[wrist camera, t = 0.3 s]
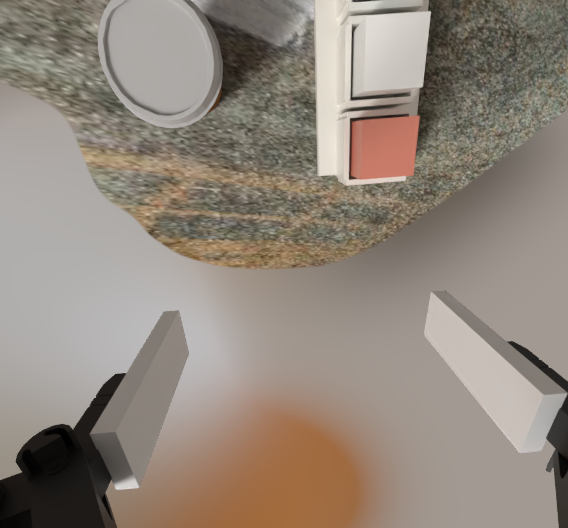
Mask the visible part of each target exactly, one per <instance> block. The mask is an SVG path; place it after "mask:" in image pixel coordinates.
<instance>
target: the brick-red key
mask: <svg viewBox="0 0 568 528" xmlns="http://www.w3.org/2000/svg"><path fill="white" fill-rule="evenodd" d="M419 118H420V116H409V117H396V118H383V119H370V120H360V121H355V122H352V125H351V171H350V175H351V176H353V177H356V178H358V179H360V180H363V179H375V178H387V177H400V176H412V175H413V174H414V164H415V155H416V146H417V137H418V127H419Z"/></svg>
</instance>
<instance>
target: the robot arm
mask: <svg viewBox="0 0 568 528" xmlns="http://www.w3.org/2000/svg"><path fill="white" fill-rule="evenodd" d="M424 335H425V337H426V338H427V339H428V340H429V341H430V343H431V344H432V345H433V346H434V348H435V349H436V350H437V351H438V353H439V354H440V355H441V356H442V357H443V359H444V360H445V361H446V362H447V364H448V365H449V366H450V367H451V369H452V370H453V371H454V372H455V373H456V375H457V376H458V377H459V379H460V380H461V381H462V382H463V384H464V385H465V386H466V387H467V389H468V390H469V391H470V392H471V394H472V395H473V396H474V397H475V398H476V399H477V401H478V402H479V403H480V405H481V406H482V407H483V408H484V410H485V411H486V412H487V413H488V415H489V416H490V417H491V418H492V420H493V421H494V422H495V423H496V424H497V426H498V427H499V428H500V429H501V431H502V432H503V433H504V434H505V435H506V437H507V438H508V439H509V441H510V442H511V443H512V444H513V446H514V447H515V448H516V449H517V450H518V452H519V453H524V452H535V451H541V450H542V448H543V445H544V443H545V441H546V439H547V440H548V441H549V442H550V443H551V444H552V445H553V446H554V447H555V448H556V449H555V451H554V453H553V455H552V457H551V459H550V461H549V463H548V465H547V468H546V471H548V472H551V470H552V468H553V467H554V475H555V487H556V499H557V511H558V522H559V528H568V381H566V380H565V379H564V378H563V377H561V376H560V375H559V374H558V373H556V372H555V371H554V370H553V369H551V368H549V367H548V365H546V364H545V363H544V362H543V361H542V360H539V358H538V357H537V356H535V355H534V354H533V353H532V352H530V351H529V350H528V349H526V348H524V347H522V346H520V345H519V344H517V343H515V342H513V341H511V342H506V341H505V340H504V339H503V338H502V337H500V336H499V335H498V334H497V333H496V332H495V331H493V330H492V329H491V328H489V326H487V325H486V324H485V323H484V322H483V321H481V320H480V319H479V318H478V317H477V316H475V315H474V314H473V313H472V312H471V311H470V310H468V309H467V308H466V307H465V306H464V305H462V304H461V303H460V302H459V301H457V300H456V299H455V298H454V297H453V296H452V295H450V294H449V293H448V292H447V291H432V292H431V297H430V302H429V308H428V314H427V320H426V326H425V332H424ZM188 354H189V351H188V347H187V343H186V338H185V334H184V330H183V326H182V321H181V317H180V313H179V311H166V312H163V314H162V316H161V317H160V319H159V321H158V322H157V324H156V325H155V327H154V329H153V330H152V332H151V334H150V335H149V337H148V339H147V340H146V342H145V344H144V345H143V347H142V349H141V350H140V352H139V354H138V355H137V357H136V359H135V360H134V362H133V364H132V365H131V367H130V368H129V370H128V372H127V373H122V374H115V375H114V376H113V377H111V378H110V379H109V380H108V381H107V382H106V383H105V384H104V385H103V386H102V387H101V389H100V391H99V392H98V393H97V395H96V398H94V399H93V401H92V402H91V404H90V407H88V408H87V410H86V411H85V413H84V414H83V416H82V417H81V419H80V420H79V422H78V423H77V425H76V426H75V428H74V429H72V428H71V427H70V426H69V425H65V424H60V425H54V426H51V427H49V428H47V429H44V430H42V431H41V432H39V433H38V434H36V435H35V436H33V437H32V438H31V439H30V440H29V441H28V442H27V443H25V445H24V446H23V447H22V448H21V450H20V451H19V453H18V455H17V458H16V463H17V465H18V466H19V468H20V469H21V471H22V473H19V474H16V475H14V476H11V477H8V478H5V479H2V480H0V528H117V526H116V523H115V520H114V517H113V513H112V510H111V507H110V504H109V501H108V498H107V496H106V494H105V492H106V490H107V488H108V485H109V483H110V481H111V480H112V482H113V484H114V486H115V488H116V490H120V489H131V488H139V487H140V485H141V482H142V479H143V477H144V474H145V471H146V468H147V466H148V463H149V460H150V458H151V455H152V452H153V449H154V447H155V444H156V441H157V439H158V436H159V433H160V430H161V428H162V425H163V422H164V419H165V417H166V414H167V412H168V409H169V406H170V403H171V400H172V398H173V395H174V392H175V390H176V387H177V384H178V382H179V379H180V376H181V374H182V371H183V368H184V365H185V363H186V360H187V357H188Z"/></svg>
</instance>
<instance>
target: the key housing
mask: <svg viewBox="0 0 568 528" xmlns="http://www.w3.org/2000/svg"><path fill="white" fill-rule="evenodd" d="M428 5H429V0H314V37H315V81H316V125H317V169H318V176H325V175H336V177H338V181H339V182H341V183H343V184H344V185H358V184H370V183H382V182H394V181H405V180H406V176H400V177H387V178H375V179H363V180H360V179H358V178H356V177H353V176H351V175H349V174H350V171H351V125H352V122H355V121H360V120H370V119H383V118H396V117H409V116H417V111H418V101H419V92H420V88H418V89H415V90H412V91H409V92H406V93H401V94H387V95H374V96H361V97H352V79H353V33H354V31H355V29H356V28H357V27H358V26H359V24H360V23H361V22H362V21H363V19H364V18H365V17H366V16H370V15H384V14H398V13H412V12H427V11H428Z"/></svg>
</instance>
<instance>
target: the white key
mask: <svg viewBox="0 0 568 528" xmlns="http://www.w3.org/2000/svg"><path fill="white" fill-rule="evenodd" d="M430 16H431V11H427V12H412V13H398V14H384V15H370V16H366V17H365V18H364V19H363V21H362V22H361V23H360V24H359V26H358V27H357V28H356V29H355V31H354V33H353V79H352V97H361V96H374V95H387V94H401V93H406V92H409V91H412V90H415V89H418V88H421V87H423V81H424V71H425V62H426V53H427V43H428V34H429V25H430Z"/></svg>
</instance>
